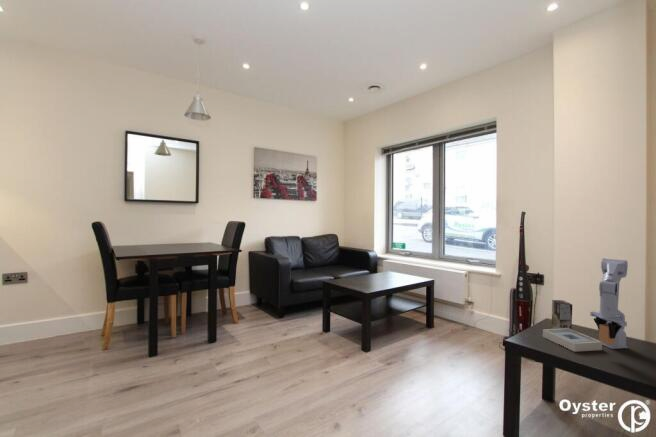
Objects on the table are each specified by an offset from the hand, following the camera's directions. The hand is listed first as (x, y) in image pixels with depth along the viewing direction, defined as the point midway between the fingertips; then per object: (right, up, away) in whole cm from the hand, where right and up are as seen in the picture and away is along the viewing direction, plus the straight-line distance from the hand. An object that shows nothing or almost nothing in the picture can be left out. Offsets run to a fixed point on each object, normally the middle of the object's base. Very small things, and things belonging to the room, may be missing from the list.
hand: (607, 336), depth 144 cm
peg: (0, -3, 0) cm, 3 cm away
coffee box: (+4, -10, +34) cm, 36 cm away
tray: (-5, -10, +15) cm, 19 cm away
